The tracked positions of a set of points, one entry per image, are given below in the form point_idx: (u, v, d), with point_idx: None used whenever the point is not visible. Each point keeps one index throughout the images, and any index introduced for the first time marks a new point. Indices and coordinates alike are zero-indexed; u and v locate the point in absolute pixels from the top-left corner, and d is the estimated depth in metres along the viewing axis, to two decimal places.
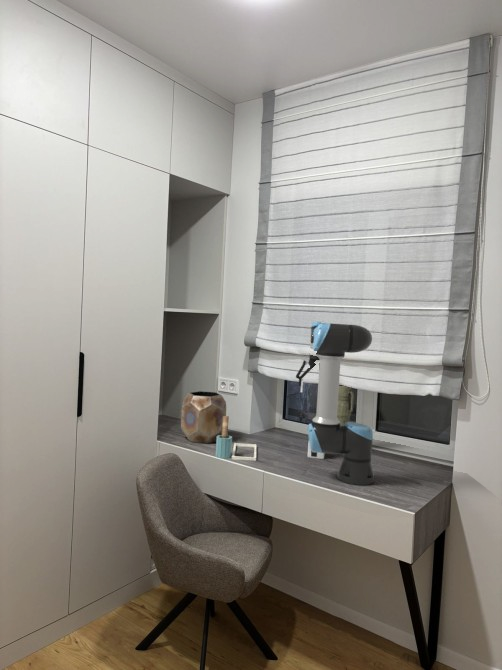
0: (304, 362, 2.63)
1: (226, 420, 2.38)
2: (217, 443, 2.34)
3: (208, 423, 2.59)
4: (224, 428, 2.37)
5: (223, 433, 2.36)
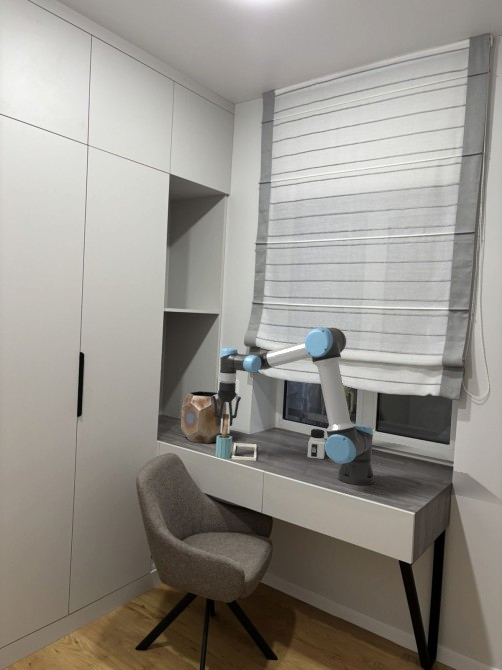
0: (214, 397, 2.36)
1: (226, 418, 2.38)
2: (217, 443, 2.34)
3: (208, 423, 2.59)
4: (224, 426, 2.37)
5: (223, 431, 2.37)
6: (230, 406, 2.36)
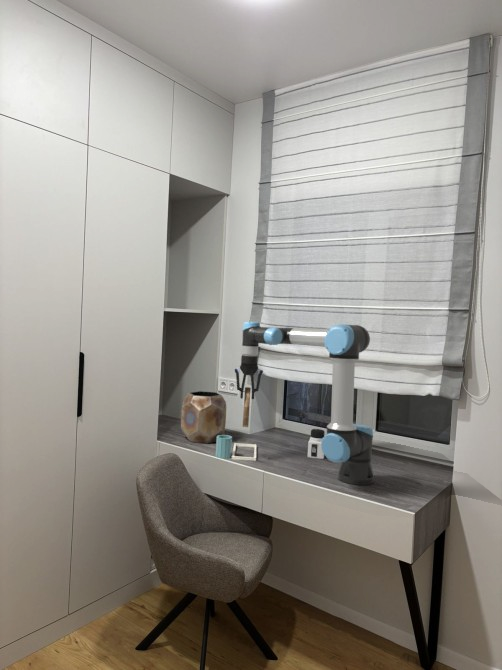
0: (236, 370, 2.37)
1: (248, 391, 2.38)
2: (217, 443, 2.34)
3: (208, 423, 2.59)
4: (246, 399, 2.37)
5: (245, 404, 2.37)
6: (252, 379, 2.37)
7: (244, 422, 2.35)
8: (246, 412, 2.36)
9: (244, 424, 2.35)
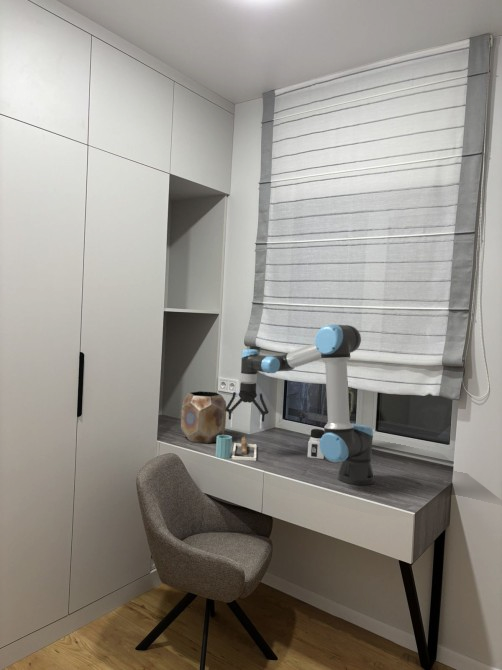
0: (234, 394, 2.40)
1: (244, 438, 2.57)
2: (217, 443, 2.34)
3: (208, 423, 2.59)
4: (243, 440, 2.53)
5: (242, 442, 2.51)
6: (256, 404, 2.40)
7: (242, 448, 2.43)
8: (244, 444, 2.47)
9: (243, 449, 2.42)
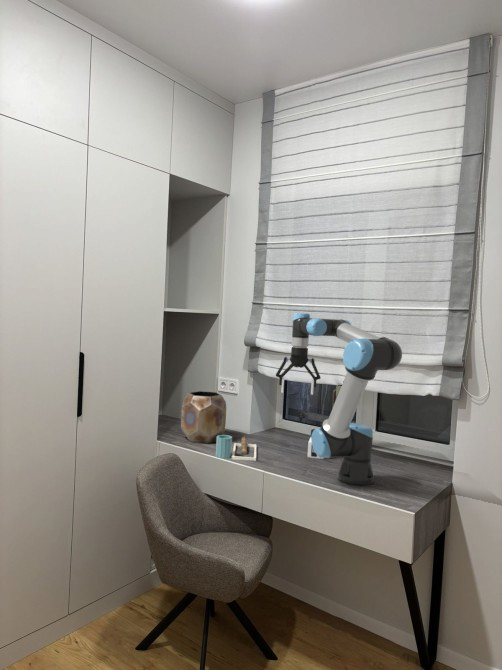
0: (285, 359, 2.34)
1: (244, 438, 2.57)
2: (217, 443, 2.34)
3: (208, 423, 2.59)
4: (243, 440, 2.53)
5: (242, 442, 2.51)
6: (308, 369, 2.34)
7: (242, 448, 2.43)
8: (244, 444, 2.47)
9: (243, 449, 2.42)
